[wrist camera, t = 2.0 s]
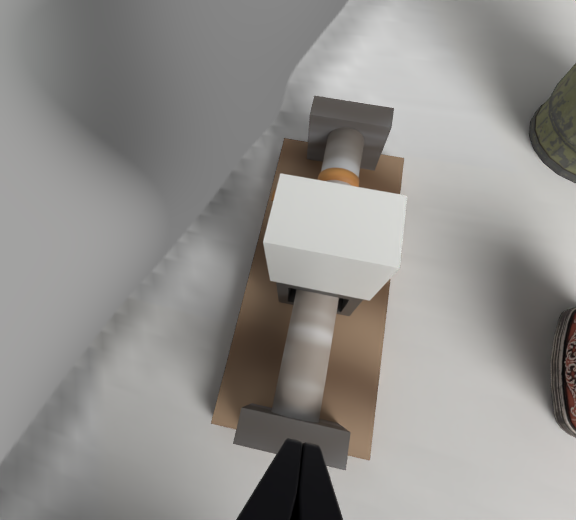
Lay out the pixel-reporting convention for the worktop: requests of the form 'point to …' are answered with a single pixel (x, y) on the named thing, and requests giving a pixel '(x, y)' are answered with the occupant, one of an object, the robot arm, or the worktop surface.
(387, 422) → the worktop surface
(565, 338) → the lighter
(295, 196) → the white slider block
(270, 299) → the pipe stand
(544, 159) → the thermos
